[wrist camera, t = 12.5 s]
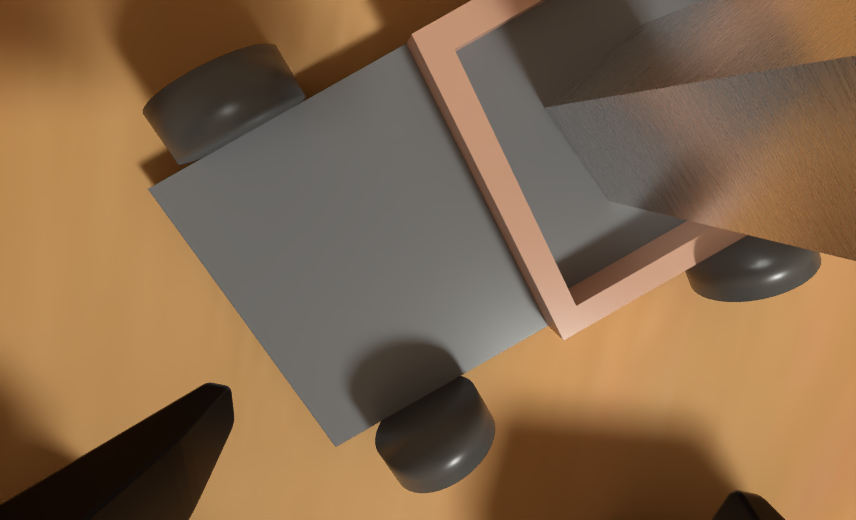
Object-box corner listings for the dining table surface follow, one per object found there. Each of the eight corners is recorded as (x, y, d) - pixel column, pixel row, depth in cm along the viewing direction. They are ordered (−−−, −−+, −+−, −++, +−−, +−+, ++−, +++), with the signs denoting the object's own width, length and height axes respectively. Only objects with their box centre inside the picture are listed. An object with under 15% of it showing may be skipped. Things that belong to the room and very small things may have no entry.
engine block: (609, 201, 19) (1069, 312, 7) (544, 107, 17) (969, 35, 5) (699, 125, 18) (1344, 98, 6) (640, 25, 17) (1306, -242, 5)
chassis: (355, 459, 21) (356, 540, 17) (130, 145, 17) (53, 147, 12) (788, 211, 21) (898, 229, 17) (678, -162, 17) (787, -264, 13)
